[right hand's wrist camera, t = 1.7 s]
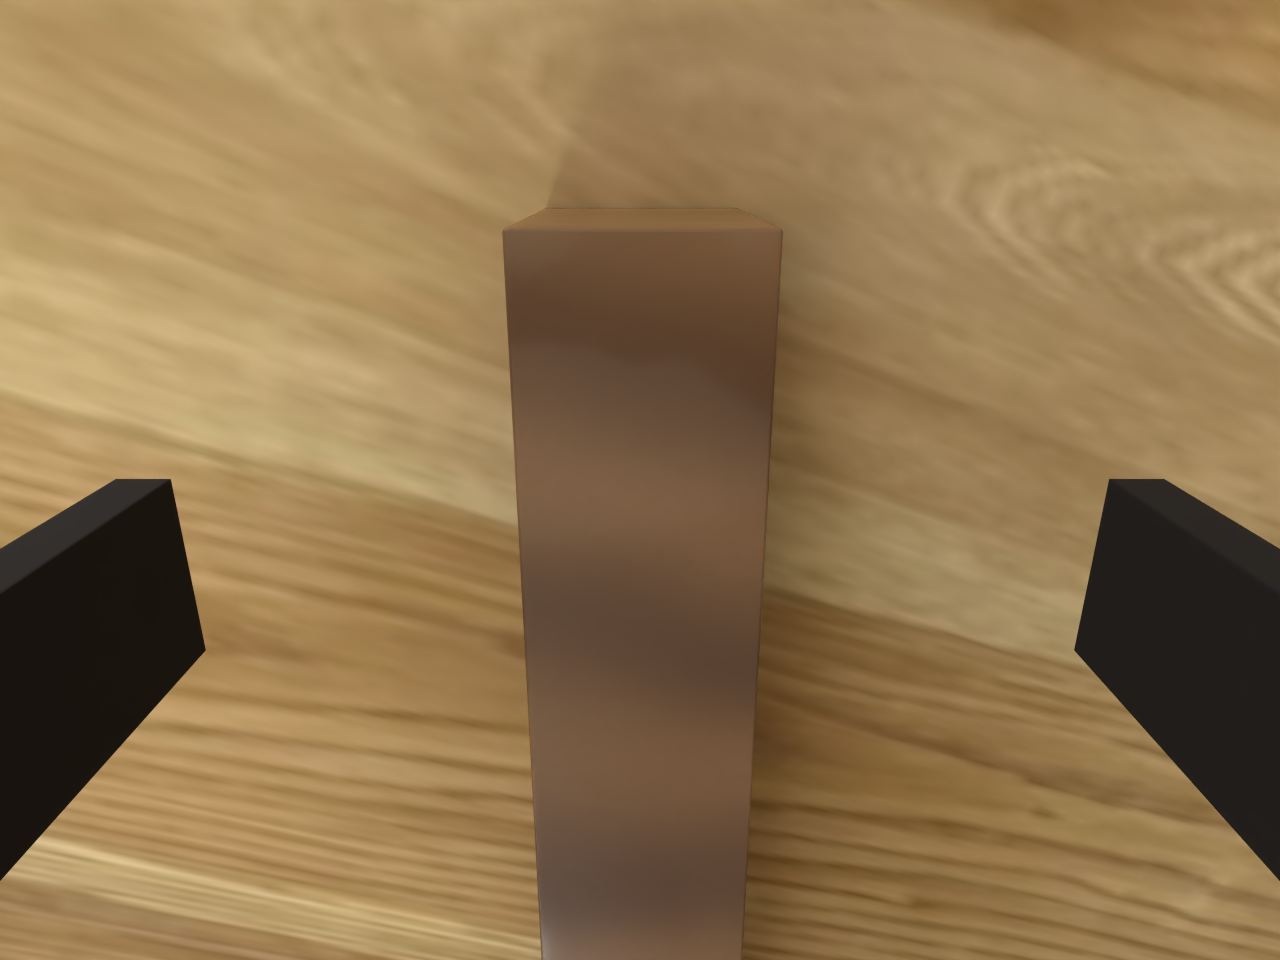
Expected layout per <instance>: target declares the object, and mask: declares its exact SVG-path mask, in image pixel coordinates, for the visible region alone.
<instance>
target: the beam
mask: <svg viewBox="0 0 1280 960" xmlns="http://www.w3.org/2000/svg"><path fill="white" fill-rule="evenodd" d="M502 235H503V253H504V272H505V290H506V309H507V327H508V346H509V364H510V382H511V401H512V419H513V438H514V456H515V475H516V493H517V512H518V530H519V549H520V567H521V585H522V604H523V622H524V641H525V659H526V678H527V696H528V715H529V733H530V752H531V770H532V788H533V807H534V825H535V844H536V862H537V881H538V899H539V918H540V936H541V955H542V960H742V949H743V931H744V913H745V895H746V877H747V860H748V842H749V824H750V806H751V789H752V771H753V753H754V735H755V718H756V700H757V682H758V664H759V646H760V629H761V611H762V593H763V575H764V558H765V540H766V522H767V504H768V486H769V469H770V451H771V433H772V415H773V398H774V380H775V362H776V344H777V327H778V309H779V291H780V273H781V255H782V238H783V231H782V229H780V228H778V227H776V226H774V225H772V224H769V223H767V222H765V221H763V220H761V219H759V218H757V217H755V216H752V215H750V214H748V213H746V212H744V211H742V210H740V209H737V208H546V209H544V210H542V211H540V212H538V213H536V214H534V215H532V216H530V217H528V218H526V219H523V220H521V221H519V222H517V223H515V224H513V225H511V226H509V227H507V228H505V229H503V231H502Z"/></svg>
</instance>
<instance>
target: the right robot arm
mask: <svg viewBox="0 0 1280 960" xmlns="http://www.w3.org/2000/svg"><path fill="white" fill-rule="evenodd" d="M205 650H206V649H205V644H204V639H203V634H202V630H201V625H200V620H199V615H198V610H197V605H196V600H195V595H194V591H193V586H192V581H191V576H190V571H189V566H188V561H187V556H186V551H185V547H184V542H183V537H182V532H181V527H180V522H179V517H178V512H177V507H176V503H175V498H174V493H173V488H172V483H171V479H115V480H114V481H112V482H110V483H109V484H107V485H105V486H104V487H102V488H100V489H99V490H97V491H95V492H94V493H92V494H90V495H89V496H87V497H85V498H84V499H82V500H81V501H79V502H77V503H76V504H74V505H72V506H71V507H69V508H67V509H66V510H64V511H62V512H61V513H59V514H57V515H56V516H54V517H52V518H51V519H49V520H47V521H46V522H44V523H42V524H41V525H39V526H37V527H36V528H34V529H32V530H31V531H29V532H27V533H26V534H24V535H23V536H21V537H19V538H18V539H16V540H14V541H13V542H11V543H9V544H8V545H6V546H4V547H3V548H1V549H0V880H1V879H2V878H3V877H4V876H5V875H6V874H7V873H8V872H9V870H10V869H11V868H12V867H13V866H14V865H15V864H16V863H17V861H18V860H19V859H20V858H21V857H22V856H23V855H24V854H25V852H26V851H27V850H28V849H29V848H30V847H31V846H32V845H33V843H34V842H35V841H36V840H37V839H38V838H39V837H40V836H41V834H42V833H43V832H44V831H45V830H46V829H47V828H48V827H49V826H50V824H51V823H52V822H53V821H54V820H55V819H56V818H57V817H58V815H59V814H60V813H61V812H62V811H63V810H64V809H65V808H66V806H67V805H68V804H69V803H70V802H71V801H72V800H73V799H74V797H75V796H76V795H77V794H78V793H79V792H80V791H81V790H82V788H83V787H84V786H85V785H86V784H87V783H88V782H89V781H90V779H91V778H92V777H93V776H94V775H95V774H96V773H97V772H98V771H99V769H100V768H101V767H102V766H103V765H104V764H105V763H106V762H107V760H108V759H109V758H110V757H111V756H112V755H113V754H114V753H115V751H116V750H117V749H118V748H119V747H120V746H121V745H122V744H123V742H124V741H125V740H126V739H127V738H128V737H129V736H130V735H131V733H132V732H133V731H134V730H135V729H136V728H137V727H138V726H139V724H140V723H141V722H142V721H143V720H144V719H145V718H146V717H147V716H148V714H149V713H150V712H151V711H152V710H153V709H154V708H155V707H156V705H157V704H158V703H159V702H160V701H161V700H162V699H163V698H164V696H165V695H166V694H167V693H168V692H169V691H170V690H171V689H172V687H173V686H174V685H175V684H176V683H177V682H178V681H179V680H180V678H181V677H182V676H183V675H184V674H185V673H186V672H187V671H188V670H189V668H190V667H191V666H192V665H193V664H194V663H195V662H196V661H197V659H198V658H199V657H200V656H201V655H202V654H203V653H204V652H205ZM1074 650H1075V652H1076V653H1077V654H1078V655H1079V656H1080V657H1081V658H1082V659H1083V661H1084V662H1085V663H1086V664H1087V665H1088V666H1089V667H1090V668H1091V670H1092V671H1093V672H1094V673H1095V674H1096V675H1097V676H1098V677H1099V678H1100V680H1101V681H1102V682H1103V683H1104V684H1105V685H1106V686H1107V687H1108V689H1109V690H1110V691H1111V692H1112V693H1113V694H1114V695H1115V696H1116V698H1117V699H1118V700H1119V701H1120V702H1121V703H1122V704H1123V705H1124V707H1125V708H1126V709H1127V710H1128V711H1129V712H1130V713H1131V714H1132V716H1133V717H1134V718H1135V719H1136V720H1137V721H1138V722H1139V723H1140V725H1141V726H1142V727H1143V728H1144V729H1145V730H1146V731H1147V732H1148V733H1149V735H1150V736H1151V737H1152V738H1153V739H1154V740H1155V741H1156V742H1157V744H1158V745H1159V746H1160V747H1161V748H1162V749H1163V750H1164V751H1165V753H1166V754H1167V755H1168V756H1169V757H1170V758H1171V759H1172V760H1173V762H1174V763H1175V764H1176V765H1177V766H1178V767H1179V768H1180V769H1181V771H1182V772H1183V773H1184V774H1185V775H1186V776H1187V777H1188V778H1189V779H1190V781H1191V782H1192V783H1193V784H1194V785H1195V786H1196V787H1197V788H1198V790H1199V791H1200V792H1201V793H1202V794H1203V795H1204V796H1205V797H1206V799H1207V800H1208V801H1209V802H1210V803H1211V804H1212V805H1213V806H1214V808H1215V809H1216V810H1217V811H1218V812H1219V813H1220V814H1221V815H1222V817H1223V818H1224V819H1225V820H1226V821H1227V822H1228V823H1229V824H1230V826H1231V827H1232V828H1233V829H1234V830H1235V831H1236V832H1237V833H1238V834H1239V836H1240V837H1241V838H1242V839H1243V840H1244V841H1245V842H1246V843H1247V845H1248V846H1249V847H1250V848H1251V849H1252V850H1253V851H1254V852H1255V854H1256V855H1257V856H1258V857H1259V858H1260V859H1261V860H1262V861H1263V863H1264V864H1265V865H1266V866H1267V867H1268V868H1269V869H1270V870H1271V872H1272V873H1273V874H1274V875H1275V876H1276V877H1277V878H1278V879H1279V881H1280V549H1279V548H1277V547H1276V546H1274V545H1272V544H1271V543H1269V542H1267V541H1266V540H1264V539H1262V538H1261V537H1259V536H1257V535H1256V534H1254V533H1253V532H1251V531H1249V530H1248V529H1246V528H1244V527H1243V526H1241V525H1239V524H1238V523H1236V522H1234V521H1233V520H1231V519H1229V518H1228V517H1226V516H1224V515H1223V514H1221V513H1219V512H1218V511H1216V510H1214V509H1213V508H1211V507H1209V506H1208V505H1206V504H1204V503H1203V502H1201V501H1199V500H1198V499H1196V498H1195V497H1193V496H1191V495H1190V494H1188V493H1186V492H1185V491H1183V490H1181V489H1180V488H1178V487H1176V486H1175V485H1173V484H1171V483H1170V482H1168V481H1166V480H1165V479H1109V483H1108V488H1107V493H1106V498H1105V503H1104V507H1103V512H1102V517H1101V522H1100V527H1099V532H1098V537H1097V542H1096V547H1095V551H1094V556H1093V561H1092V566H1091V571H1090V576H1089V581H1088V586H1087V591H1086V595H1085V600H1084V605H1083V610H1082V615H1081V620H1080V625H1079V630H1078V634H1077V639H1076V644H1075V649H1074Z"/></svg>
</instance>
